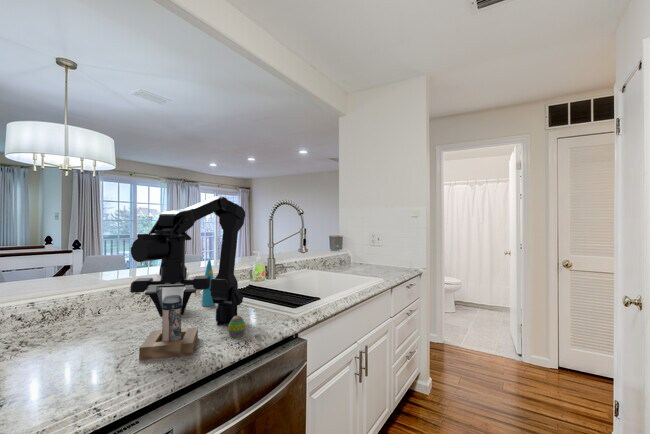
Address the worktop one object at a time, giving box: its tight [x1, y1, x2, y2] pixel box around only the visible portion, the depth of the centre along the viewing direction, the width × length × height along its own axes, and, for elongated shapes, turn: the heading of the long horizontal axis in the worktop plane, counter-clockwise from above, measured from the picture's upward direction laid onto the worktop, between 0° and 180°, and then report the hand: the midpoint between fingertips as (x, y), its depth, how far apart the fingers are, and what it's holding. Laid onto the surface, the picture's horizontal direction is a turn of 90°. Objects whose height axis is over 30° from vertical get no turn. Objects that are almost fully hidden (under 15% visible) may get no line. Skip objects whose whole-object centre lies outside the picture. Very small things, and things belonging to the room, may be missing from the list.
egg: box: [227, 314, 246, 339], centre depth 92 cm, size 5×5×6 cm
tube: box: [201, 256, 215, 307], centre depth 125 cm, size 7×5×19 cm, turn 26°
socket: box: [138, 327, 199, 361], centre depth 82 cm, size 12×12×3 cm
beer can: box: [161, 295, 183, 342], centre depth 82 cm, size 5×5×12 cm
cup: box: [156, 270, 190, 301], centre depth 119 cm, size 11×11×14 cm
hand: (172, 315), depth 82 cm, fingers closed on beer can, 5 cm apart
